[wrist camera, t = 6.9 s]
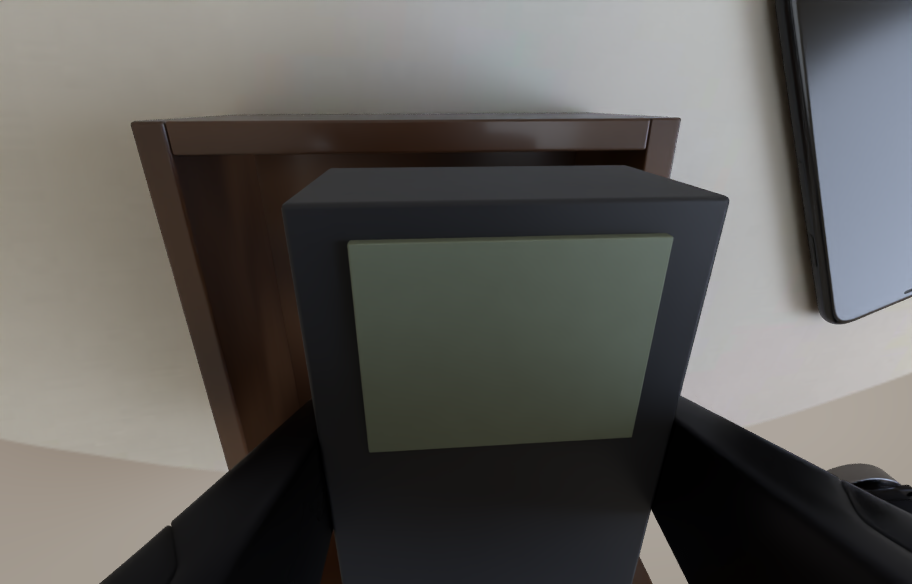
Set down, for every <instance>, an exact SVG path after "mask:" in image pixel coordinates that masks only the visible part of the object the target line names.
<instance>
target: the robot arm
mask: <svg viewBox="0 0 912 584" xmlns="http://www.w3.org/2000/svg"><path fill="white" fill-rule="evenodd" d="M651 510H652V512H653V514H654V516H655V518H656V520H657V522H658V524H659V526H660V528H661V530H662V532H663V534H664V536H665V537H666V540H667V542H668V544H669V546H670V547H671V549H672V551H673V554H674V556H675V558H676V559H677V561H678V564H679V566H680V568H681V569H682V571H683V574H684V575H685V577H686V579H687V582H688V584H912V487H911V486H910V485H894V486H880V487H865V488H859V487H857V486H855V485H853V484H851V483H849V482H847V481H845V480H841V481H840V480H839V478H838V477H837V476H835V475H833V474H831V473H829V472H827V471H825V470H823V469H821V468H819V467H818V466H816V465H814V464H812V463H810V462H808V461H806V460H804V459H802V458H800V457H798V456H796V455H794V454H793V453H791V452H789V451H787V450H785V449H783V448H781V447H779V446H777V445H775V444H773V443H771V442H769V441H767V440H765V439H763V438H761V437H760V436H758V435H756V434H754V433H752V432H750V431H748V430H746V429H744V428H742V427H740V426H738V425H736V424H734V423H733V422H731V421H729V420H727V419H725V418H723V417H721V416H719V415H717V414H715V413H713V412H711V411H709V410H707V409H705V408H703V407H702V406H700V405H698V404H696V403H694V402H692V401H690V400H688V399H686V398H684V397H682V396H680V397H679V401H678V405H677V409H676V413H675V417H674V421H673V425H672V429H671V433H670V437H669V440H668V444H667V448H666V452H665V456H664V460H663V464H662V468H661V472H660V476H659V480H658V484H657V488H656V492H655V495H654V499H653V503H652V507H651ZM332 532H333V523H332V517H331V511H330V505H329V499H328V493H327V486H326V480H325V474H324V468H323V462H322V456H321V449H320V443H319V438H318V432H317V425H316V419H315V413H314V407H313V401H312V398H311V399H310V400H309V401H308V402H306V403H305V404H304V405H303V406H302V407H301V408H300V409H298V410H297V411H296V412H295V413H294V414H293V415H292V416H291V417H289V418H288V419H287V420H286V421H285V422H284V423H283V424H282V425H280V426H279V427H278V428H277V429H276V430H275V431H274V432H272V433H271V434H270V435H269V436H268V437H267V438H266V439H265V440H263V441H262V442H261V443H260V444H259V445H258V446H257V447H255V448H254V449H253V450H252V451H251V452H250V453H249V454H248V455H246V456H245V457H244V458H243V459H242V460H241V461H240V462H239V463H237V464H236V465H235V466H234V467H233V468H232V469H231V470H229V471H228V472H227V473H226V474H225V475H224V476H223V477H222V478H220V479H219V480H218V481H217V482H216V483H215V484H214V485H212V487H210V488H209V489H208V490H207V491H206V492H205V493H204V494H202V495H201V496H200V497H199V498H198V499H197V500H196V501H194V502H193V503H192V504H191V505H190V506H189V507H188V508H186V509H185V510H184V511H183V512H182V513H181V514H180V515H179V516H177V517H176V518H175V519H174V520H173V521H172V523H171V526H166V527H165V528H164V529H162V531H160V532H159V533H158V534H157V535H156V536H155V537H153V538H152V539H151V540H150V541H149V542H148V543H147V544H146V545H144V546H143V547H142V548H141V549H140V550H138V551H137V552H136V553H135V554H134V555H133V556H131V557H130V558H129V559H128V560H127V561H126V562H125V563H123V564H122V565H121V566H120V567H119V568H117V569H116V570H115V571H114V572H113V573H112V574H110V575H109V576H108V577H107V578H106V579H104V580H103V581H102V582H101V583H99V584H320V582H321V578H322V574H323V570H324V566H325V561H326V557H327V553H328V549H329V545H330V540H331V536H332Z"/></svg>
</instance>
